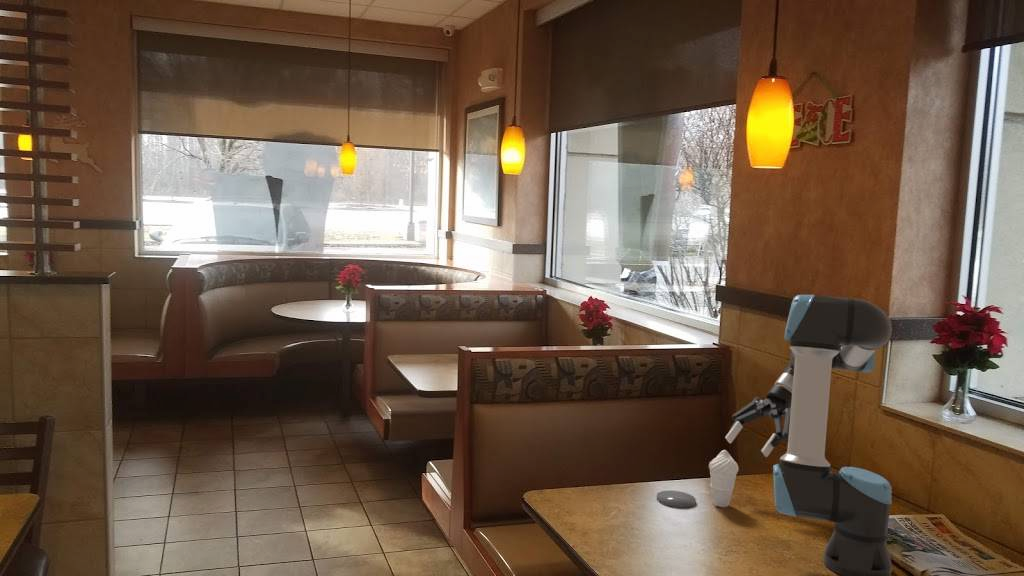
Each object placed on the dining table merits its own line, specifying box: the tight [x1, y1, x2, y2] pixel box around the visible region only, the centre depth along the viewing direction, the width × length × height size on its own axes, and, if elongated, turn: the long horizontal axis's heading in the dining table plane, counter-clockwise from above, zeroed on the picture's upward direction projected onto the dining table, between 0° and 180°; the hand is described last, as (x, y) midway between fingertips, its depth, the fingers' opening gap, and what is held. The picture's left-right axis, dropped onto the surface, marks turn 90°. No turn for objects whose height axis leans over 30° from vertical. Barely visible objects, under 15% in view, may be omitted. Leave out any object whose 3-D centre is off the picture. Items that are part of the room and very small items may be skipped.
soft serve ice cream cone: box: [708, 449, 739, 508], centre depth 231 cm, size 8×8×16 cm
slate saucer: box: [656, 490, 697, 509], centre depth 233 cm, size 11×11×1 cm
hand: (745, 447), depth 235 cm, fingers open, 13 cm apart
